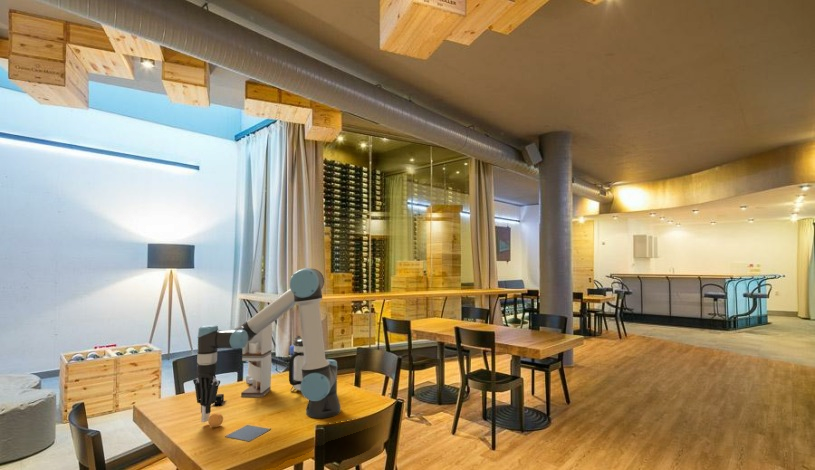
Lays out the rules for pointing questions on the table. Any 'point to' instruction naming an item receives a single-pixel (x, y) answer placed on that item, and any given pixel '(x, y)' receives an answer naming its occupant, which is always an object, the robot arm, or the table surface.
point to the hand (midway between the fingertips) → (205, 421)
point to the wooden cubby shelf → (259, 363)
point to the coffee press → (296, 365)
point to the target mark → (247, 433)
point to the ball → (215, 420)
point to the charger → (249, 379)
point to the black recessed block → (219, 400)
